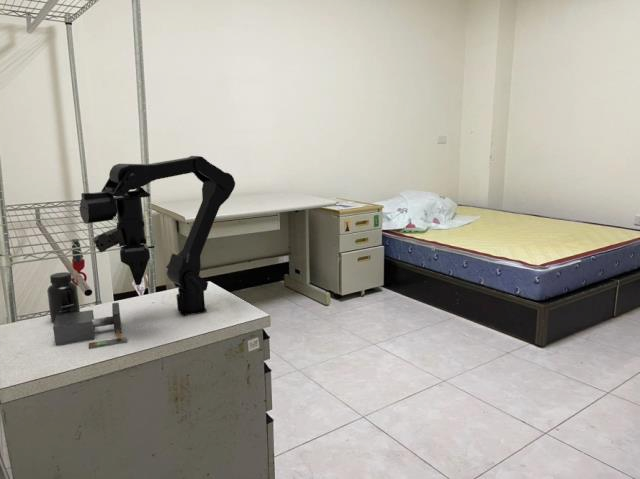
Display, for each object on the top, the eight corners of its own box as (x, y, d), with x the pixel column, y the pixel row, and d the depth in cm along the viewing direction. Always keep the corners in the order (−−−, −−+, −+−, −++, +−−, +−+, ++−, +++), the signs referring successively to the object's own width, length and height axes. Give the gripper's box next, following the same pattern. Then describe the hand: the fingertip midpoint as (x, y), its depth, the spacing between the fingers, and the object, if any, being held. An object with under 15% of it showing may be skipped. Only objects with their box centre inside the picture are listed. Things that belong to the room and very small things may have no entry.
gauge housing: (125, 322, 122) (123, 305, 121) (127, 342, 111) (125, 324, 110) (58, 332, 116) (56, 315, 115) (53, 354, 105) (50, 335, 104)
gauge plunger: (120, 320, 122) (118, 302, 121) (122, 340, 110) (119, 320, 109) (67, 329, 117) (65, 309, 116) (63, 350, 106) (60, 329, 105)
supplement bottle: (68, 324, 121) (62, 279, 118) (45, 323, 122) (38, 278, 119) (86, 314, 127) (81, 271, 125) (64, 313, 129) (58, 270, 126)
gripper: (94, 213, 119) (102, 273, 123) (91, 228, 102) (100, 296, 106) (142, 210, 123) (148, 268, 127) (146, 223, 107) (153, 289, 110)
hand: (137, 279), depth 118 cm, fingers open, 8 cm apart
